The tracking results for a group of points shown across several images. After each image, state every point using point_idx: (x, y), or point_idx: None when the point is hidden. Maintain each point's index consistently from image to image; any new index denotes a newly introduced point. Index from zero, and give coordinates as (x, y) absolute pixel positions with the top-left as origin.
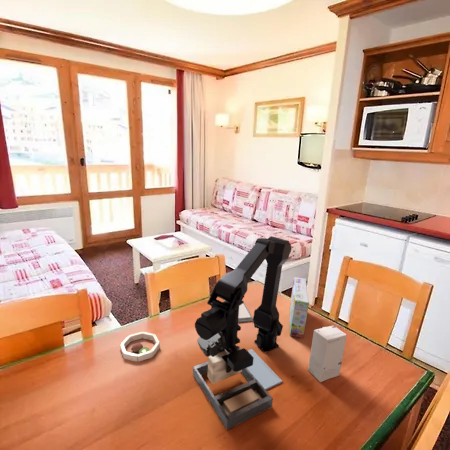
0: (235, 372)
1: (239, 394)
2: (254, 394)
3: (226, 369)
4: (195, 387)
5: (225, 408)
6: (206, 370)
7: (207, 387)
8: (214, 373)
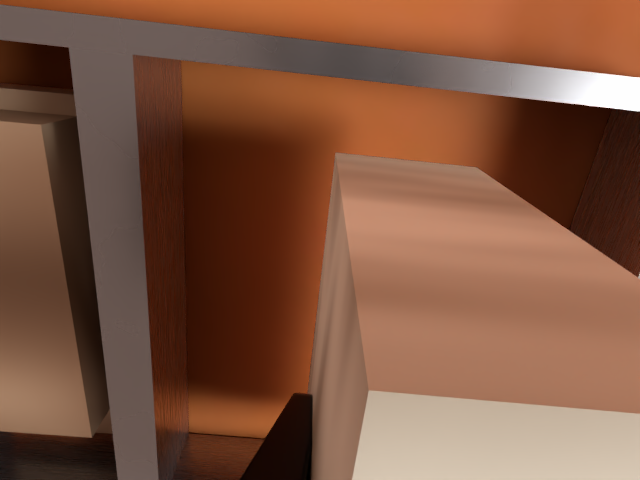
0: None
1: (69, 320)
2: (16, 421)
3: (285, 439)
4: (502, 8)
5: (33, 113)
6: (588, 236)
7: (318, 56)
8: (335, 238)
